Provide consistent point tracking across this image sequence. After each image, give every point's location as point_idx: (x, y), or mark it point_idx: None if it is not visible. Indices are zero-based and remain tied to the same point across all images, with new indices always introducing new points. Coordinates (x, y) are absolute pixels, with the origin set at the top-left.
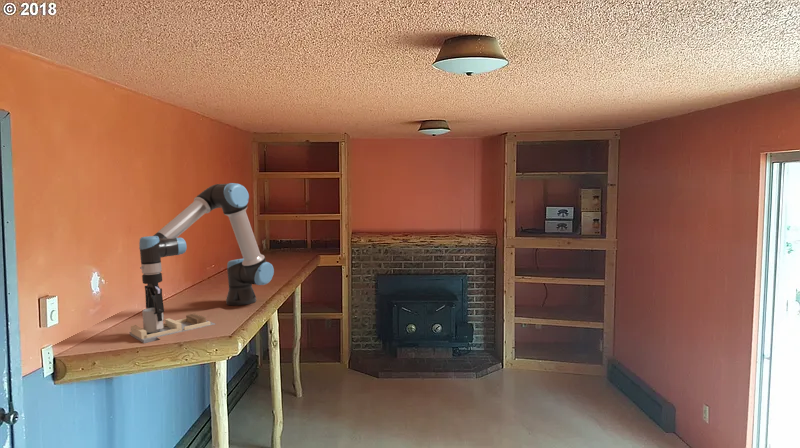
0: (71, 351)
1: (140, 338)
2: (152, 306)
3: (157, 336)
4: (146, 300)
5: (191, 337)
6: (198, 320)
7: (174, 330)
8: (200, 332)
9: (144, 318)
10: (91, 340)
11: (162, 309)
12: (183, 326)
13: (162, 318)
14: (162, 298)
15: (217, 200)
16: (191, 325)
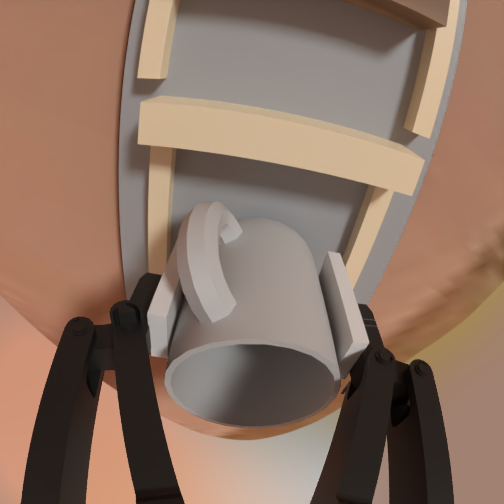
0: (195, 424)
1: None
2: (119, 346)
3: (363, 288)
4: (91, 431)
5: (496, 182)
6: (442, 18)
7: (389, 195)
8: (480, 91)
9: (261, 382)
10: (108, 373)
11: (421, 386)
12: (320, 67)
13: (356, 303)
14: (451, 477)
15: None
16: (433, 83)
